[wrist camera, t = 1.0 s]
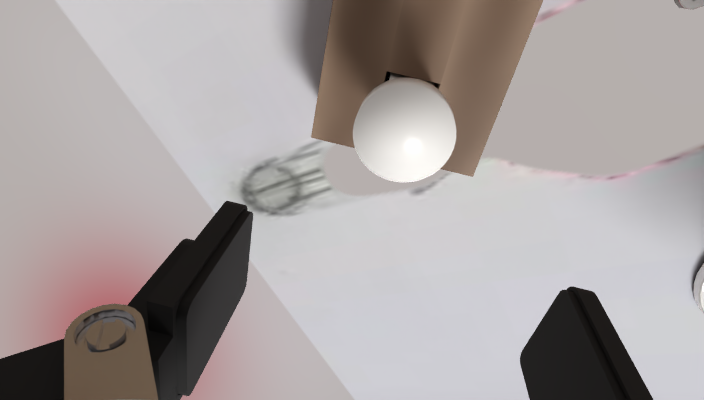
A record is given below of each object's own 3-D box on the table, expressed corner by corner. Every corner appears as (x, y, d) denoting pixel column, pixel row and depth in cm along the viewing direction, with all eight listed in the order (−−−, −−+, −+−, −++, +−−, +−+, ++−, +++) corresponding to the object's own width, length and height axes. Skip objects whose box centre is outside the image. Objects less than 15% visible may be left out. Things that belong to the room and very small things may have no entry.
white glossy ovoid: (458, 67, 27) (471, 99, 21) (433, 143, 30) (438, 192, 24) (377, 47, 28) (364, 73, 21) (359, 125, 30) (344, 169, 24)
